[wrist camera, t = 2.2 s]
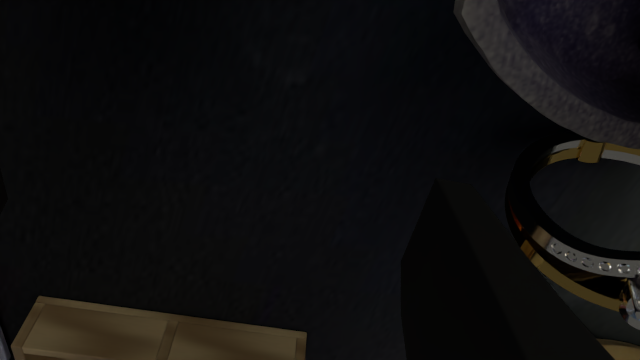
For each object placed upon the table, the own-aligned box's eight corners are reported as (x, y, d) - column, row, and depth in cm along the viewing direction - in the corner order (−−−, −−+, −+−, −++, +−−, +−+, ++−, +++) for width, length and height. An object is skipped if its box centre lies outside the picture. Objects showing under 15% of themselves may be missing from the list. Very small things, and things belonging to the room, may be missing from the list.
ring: (701, 99, 18) (887, 280, 12) (662, 173, 20) (804, 361, 14) (496, 94, 18) (575, 270, 12) (478, 167, 20) (537, 351, 14)
